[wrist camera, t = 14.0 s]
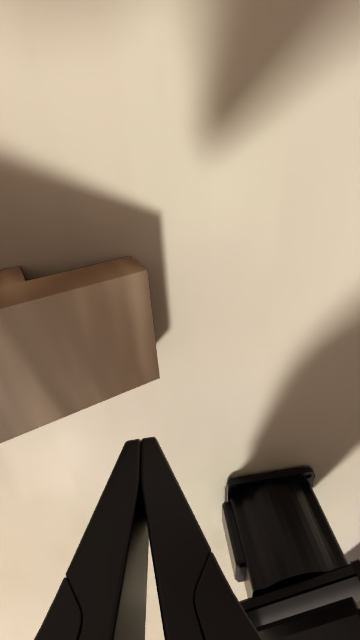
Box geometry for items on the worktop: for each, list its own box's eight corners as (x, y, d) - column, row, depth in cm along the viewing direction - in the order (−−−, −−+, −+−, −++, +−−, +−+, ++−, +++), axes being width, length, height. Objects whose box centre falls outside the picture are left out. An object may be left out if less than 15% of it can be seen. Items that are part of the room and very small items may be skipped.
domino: (147, 269, 13) (-192, 359, 9) (159, 378, 16) (-89, 479, 12) (130, 255, 14) (-170, 328, 10) (144, 357, 17) (-83, 443, 13)
